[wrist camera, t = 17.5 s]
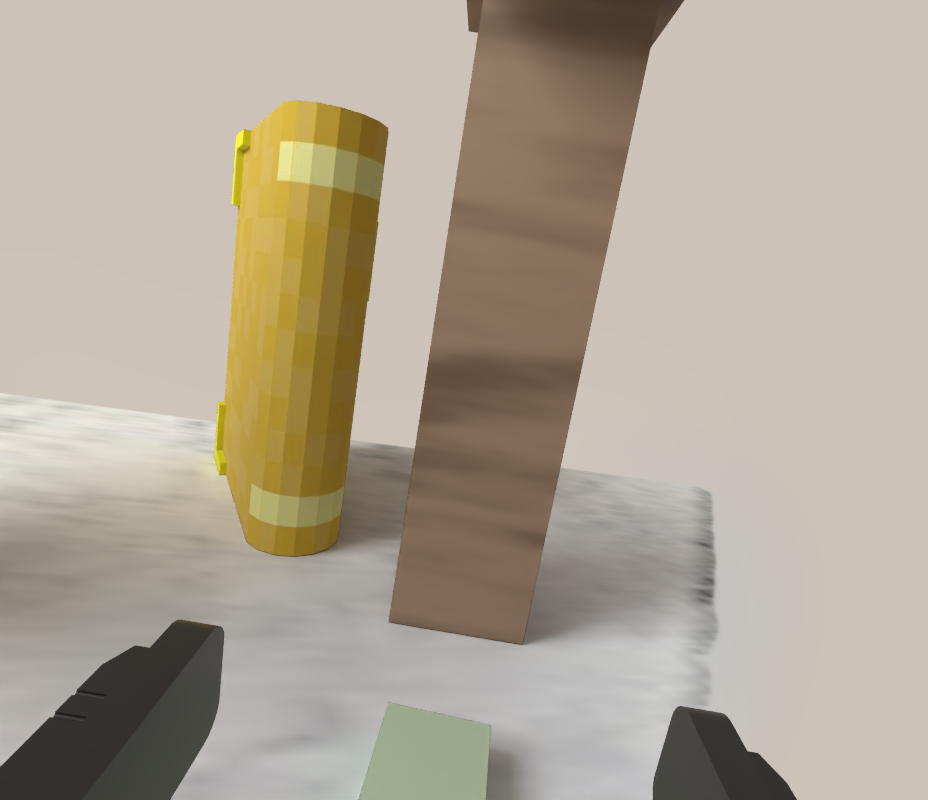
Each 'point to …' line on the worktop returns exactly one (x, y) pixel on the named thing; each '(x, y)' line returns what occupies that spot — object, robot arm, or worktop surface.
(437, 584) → the tall brown wooden column
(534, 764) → the worktop surface
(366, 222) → the book
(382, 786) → the block
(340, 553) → the worktop surface
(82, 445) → the worktop surface
